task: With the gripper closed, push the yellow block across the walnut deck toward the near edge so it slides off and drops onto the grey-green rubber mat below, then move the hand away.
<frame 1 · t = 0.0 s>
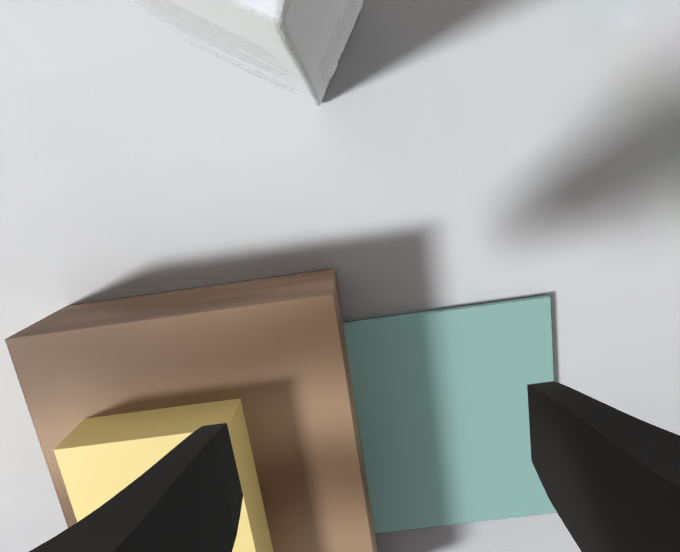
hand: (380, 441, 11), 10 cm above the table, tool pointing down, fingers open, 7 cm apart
skincare box: (271, 21, 19), on the table
deck: (235, 447, 23), on the table
yellow block: (188, 509, 19), point 4 cm above the table, touching deck
mat: (455, 419, 22), on the table
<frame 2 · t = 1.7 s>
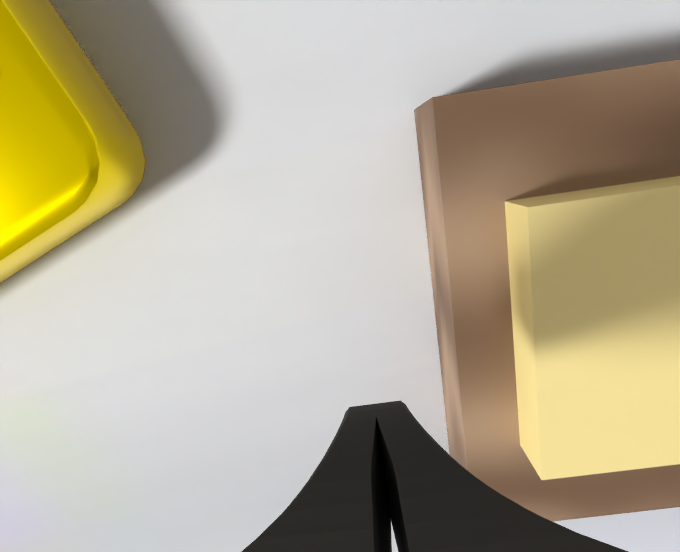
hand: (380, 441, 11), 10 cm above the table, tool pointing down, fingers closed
deck: (575, 285, 20), on the table
yellow block: (600, 319, 16), point 4 cm above the table, touching deck
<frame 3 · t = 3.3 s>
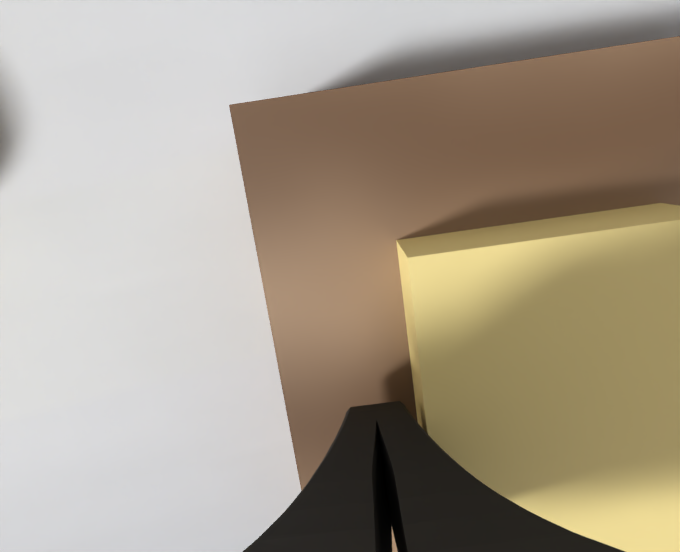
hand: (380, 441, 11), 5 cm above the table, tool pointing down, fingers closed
deck: (481, 342, 16), on the table
yellow block: (535, 399, 12), point 4 cm above the table, touching deck
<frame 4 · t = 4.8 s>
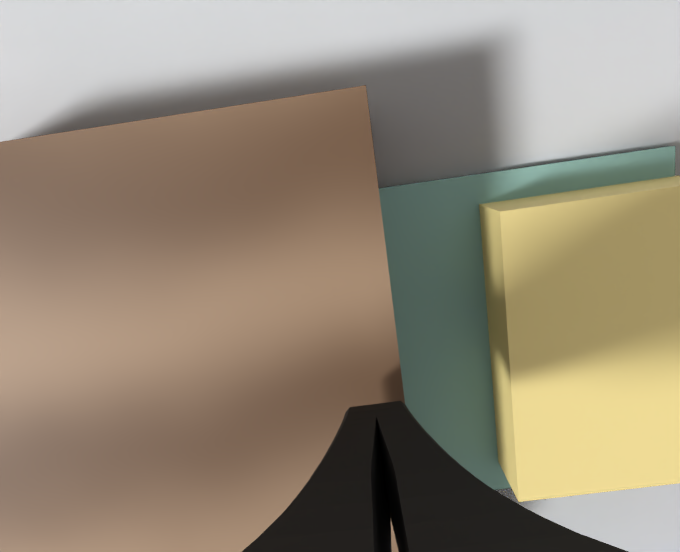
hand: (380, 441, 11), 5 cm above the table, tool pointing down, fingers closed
deck: (216, 377, 16), on the table
yellow block: (616, 354, 14), point 2 cm above the table, tilted 180°, touching mat
mat: (526, 336, 16), on the table
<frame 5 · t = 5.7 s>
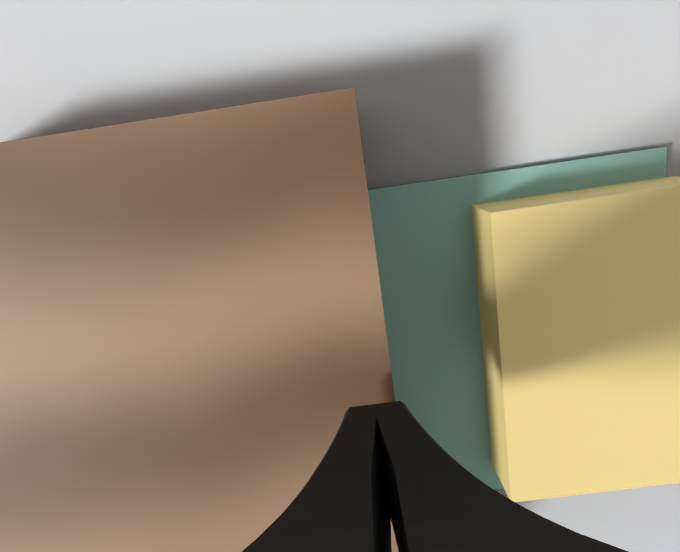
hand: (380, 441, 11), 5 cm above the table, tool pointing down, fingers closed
deck: (209, 378, 16), on the table
yellow block: (608, 355, 14), point 2 cm above the table, tilted 180°, touching mat
mat: (519, 337, 16), on the table
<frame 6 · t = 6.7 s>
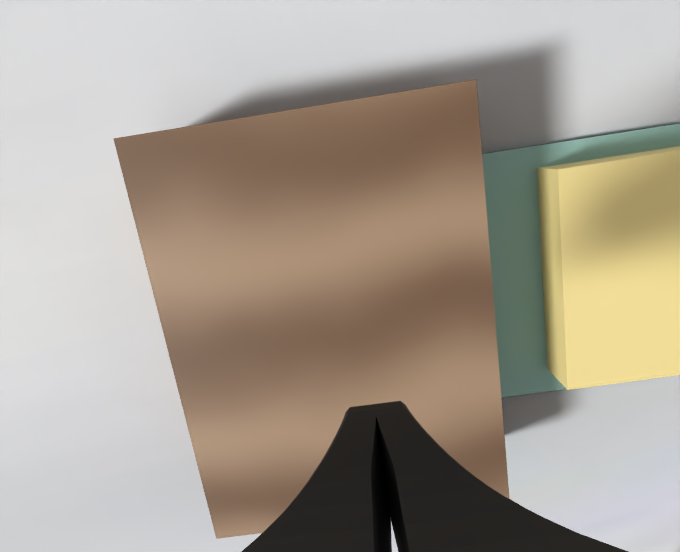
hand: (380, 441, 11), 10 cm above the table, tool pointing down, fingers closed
deck: (332, 304, 21), on the table
yellow block: (641, 274, 19), point 2 cm above the table, tilted 180°, touching mat
mat: (570, 270, 21), on the table
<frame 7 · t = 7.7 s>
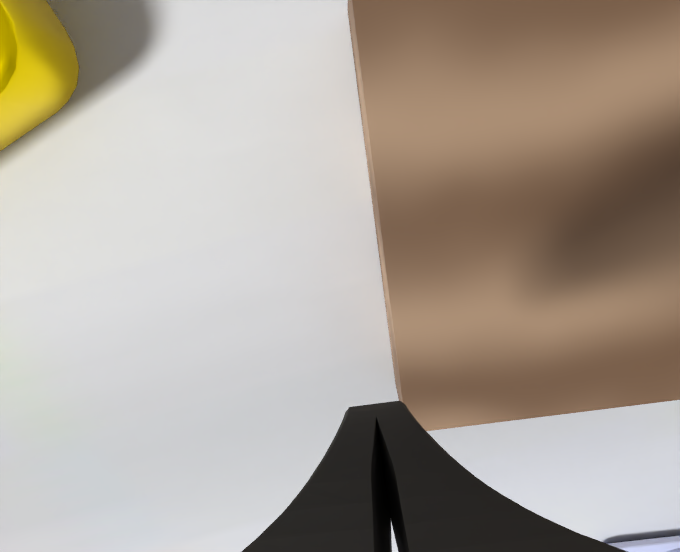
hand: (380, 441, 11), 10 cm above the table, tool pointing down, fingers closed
deck: (515, 194, 20), on the table
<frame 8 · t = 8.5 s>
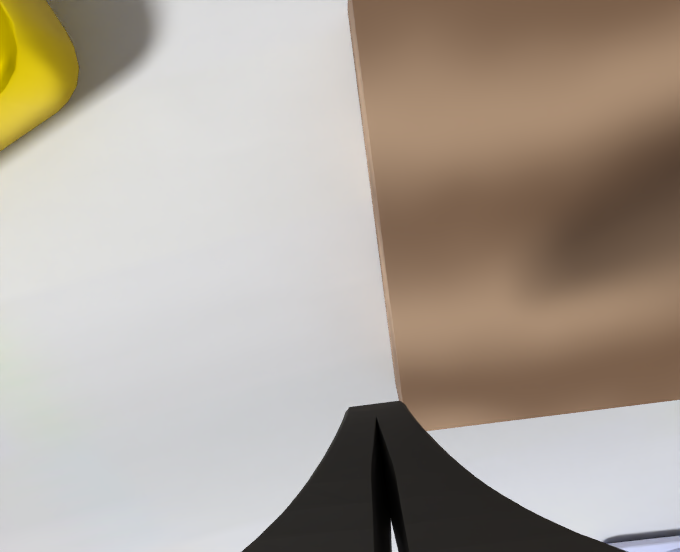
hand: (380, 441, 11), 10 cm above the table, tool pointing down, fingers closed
deck: (515, 194, 20), on the table
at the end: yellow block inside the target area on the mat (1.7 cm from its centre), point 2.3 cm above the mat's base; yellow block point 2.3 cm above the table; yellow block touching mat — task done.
